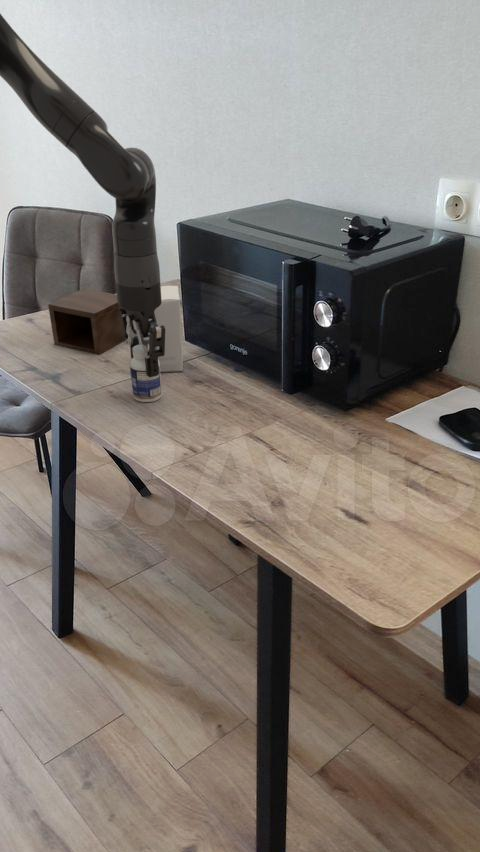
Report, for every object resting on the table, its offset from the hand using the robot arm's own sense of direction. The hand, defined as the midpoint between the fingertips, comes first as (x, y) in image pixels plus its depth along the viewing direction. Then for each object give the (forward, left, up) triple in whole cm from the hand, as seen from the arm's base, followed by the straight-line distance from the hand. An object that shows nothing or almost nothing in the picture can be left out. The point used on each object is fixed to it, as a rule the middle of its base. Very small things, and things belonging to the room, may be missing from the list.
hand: (145, 369), depth 129 cm
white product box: (+14, +6, -6) cm, 16 cm away
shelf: (+18, +26, -6) cm, 32 cm away
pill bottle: (0, 0, -6) cm, 6 cm away
